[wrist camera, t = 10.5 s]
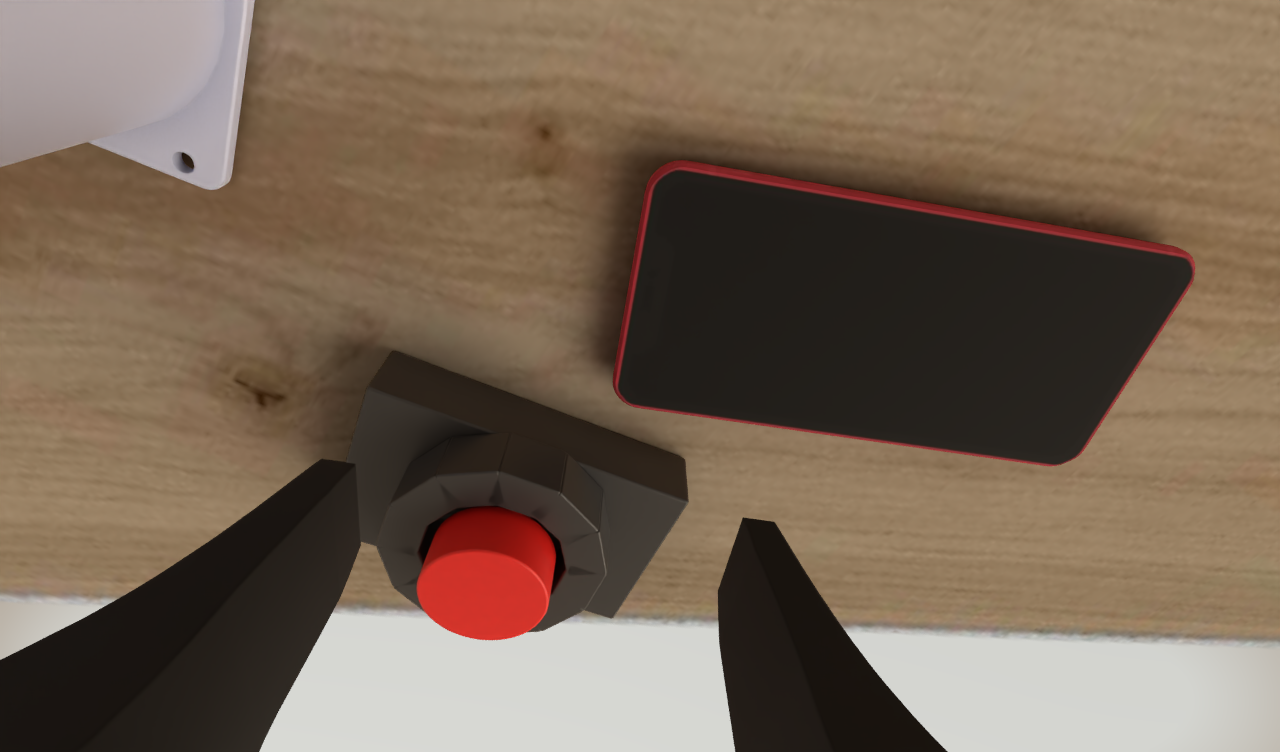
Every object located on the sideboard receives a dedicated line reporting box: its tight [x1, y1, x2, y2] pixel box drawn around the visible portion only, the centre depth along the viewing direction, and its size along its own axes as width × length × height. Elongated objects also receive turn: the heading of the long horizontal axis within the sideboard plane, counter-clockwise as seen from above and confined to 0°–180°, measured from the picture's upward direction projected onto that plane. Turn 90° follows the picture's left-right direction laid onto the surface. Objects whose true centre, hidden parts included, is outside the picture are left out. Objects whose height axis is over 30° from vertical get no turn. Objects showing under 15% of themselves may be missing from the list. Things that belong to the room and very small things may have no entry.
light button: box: [417, 506, 556, 640], centre depth 19 cm, size 4×4×2 cm
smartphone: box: [613, 160, 1195, 466], centre depth 19 cm, size 7×1×15 cm
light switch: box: [346, 351, 688, 632], centre depth 21 cm, size 10×6×4 cm, turn 66°
